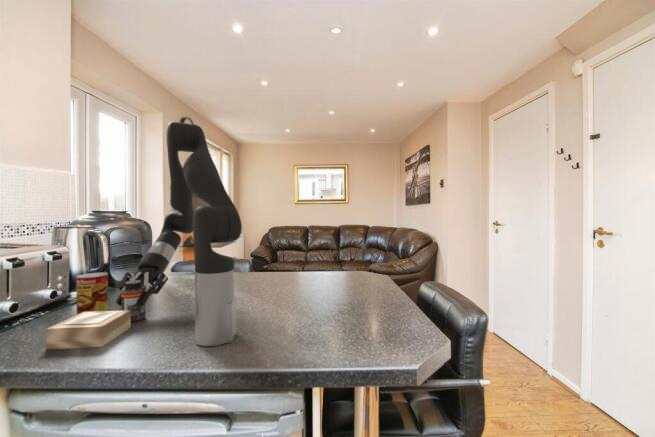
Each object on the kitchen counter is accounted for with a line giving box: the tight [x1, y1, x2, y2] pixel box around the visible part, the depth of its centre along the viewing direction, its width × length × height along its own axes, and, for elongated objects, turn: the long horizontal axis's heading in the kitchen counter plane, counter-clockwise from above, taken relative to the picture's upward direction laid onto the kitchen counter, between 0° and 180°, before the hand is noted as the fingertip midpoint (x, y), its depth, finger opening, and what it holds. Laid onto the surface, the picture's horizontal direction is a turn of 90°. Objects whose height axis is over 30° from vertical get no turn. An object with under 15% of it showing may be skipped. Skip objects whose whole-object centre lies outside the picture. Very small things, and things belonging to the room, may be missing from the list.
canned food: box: [76, 272, 109, 315], centre depth 94 cm, size 8×8×12 cm
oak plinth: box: [45, 309, 132, 350], centre depth 74 cm, size 12×12×5 cm
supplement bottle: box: [120, 280, 146, 323], centre depth 87 cm, size 6×6×11 cm
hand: (129, 304), depth 85 cm, fingers closed on supplement bottle, 6 cm apart
